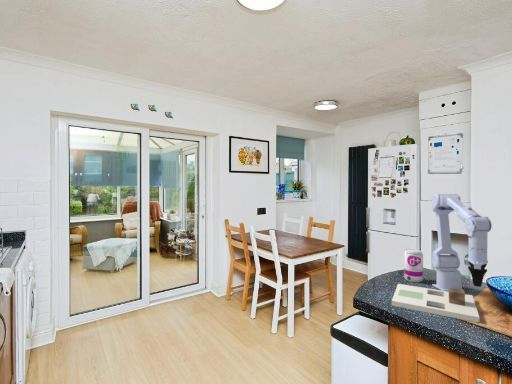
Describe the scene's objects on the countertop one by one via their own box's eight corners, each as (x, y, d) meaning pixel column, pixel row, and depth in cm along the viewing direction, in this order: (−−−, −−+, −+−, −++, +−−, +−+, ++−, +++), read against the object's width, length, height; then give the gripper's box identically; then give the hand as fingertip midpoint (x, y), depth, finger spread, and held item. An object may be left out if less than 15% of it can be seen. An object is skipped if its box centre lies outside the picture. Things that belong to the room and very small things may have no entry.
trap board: (472, 300, 120) (472, 295, 120) (479, 322, 101) (479, 317, 101) (397, 287, 135) (398, 283, 135) (391, 305, 115) (391, 300, 115)
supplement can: (422, 283, 140) (422, 253, 140) (403, 281, 144) (403, 251, 144) (423, 279, 147) (423, 250, 146) (405, 276, 151) (405, 248, 151)
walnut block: (463, 301, 114) (463, 290, 114) (464, 305, 110) (464, 294, 110) (448, 298, 117) (448, 287, 117) (449, 303, 113) (449, 291, 113)
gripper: (465, 243, 118) (465, 276, 118) (464, 250, 107) (463, 286, 107) (487, 245, 114) (487, 279, 114) (488, 252, 102) (488, 290, 103)
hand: (477, 283), depth 110 cm, fingers open, 7 cm apart
